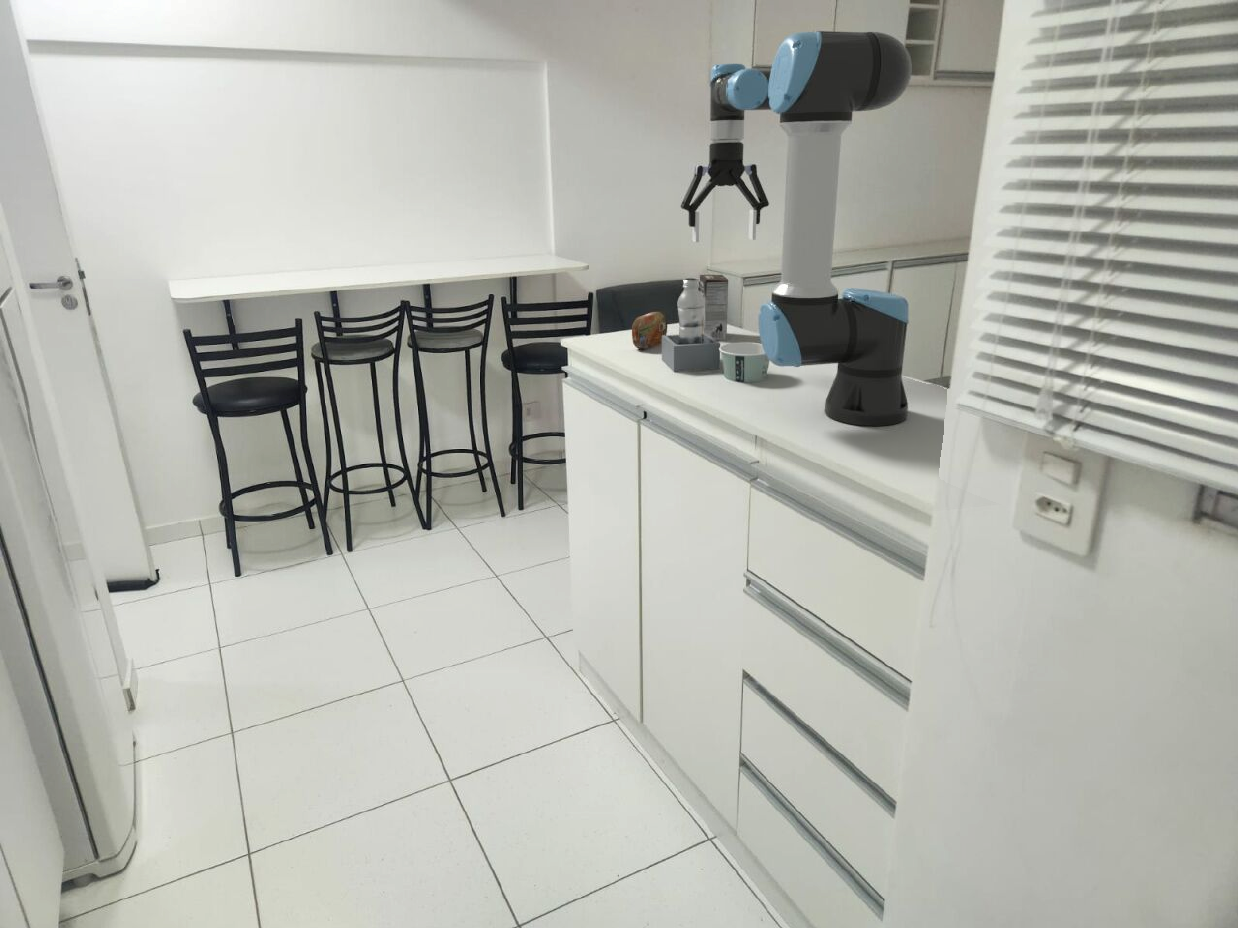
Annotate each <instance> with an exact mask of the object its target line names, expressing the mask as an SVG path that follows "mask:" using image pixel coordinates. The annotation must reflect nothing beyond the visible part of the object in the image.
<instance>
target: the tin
mask: <svg viewBox="0 0 1238 928" xmlns="http://www.w3.org/2000/svg"><path fill="white" fill-rule="evenodd" d="M667 333H668V321H667V318H666V314H665V313H664V312H662V311H652V312H648V313H646V314H644V315H641V316H637V317H636V318H635V319H634V321H633V323H632V326H631V337H632V338H631V339H632V343H633V345H634V347H635V348H636V349H640V350H649V349H652V348H653V347H655V346H658V345H662V335H668V334H667Z"/></svg>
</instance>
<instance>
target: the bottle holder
mask: <svg viewBox="0 0 1238 928" xmlns="http://www.w3.org/2000/svg"><path fill="white" fill-rule="evenodd" d="M678 340H679V333H678V334H666V335H662V343H661V360H662V362H663V363H665V365H666V366H667V367H668V368H669V369H670V370H671V371H672V372H674V373H676V372H677V373H678V372H688V371H689V372H691V371H692V372H694V371H707V370H720V368H721V366H720V365H721V352H720V350H719V348H720V347H721V342H719V340H715V339H714V338H712V337H711V336H709V335H708V334H707V333H702V344H687V345H678Z"/></svg>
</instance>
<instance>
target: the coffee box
mask: <svg viewBox="0 0 1238 928" xmlns="http://www.w3.org/2000/svg"><path fill="white" fill-rule="evenodd" d="M699 291H700V293H701V294H702V296H703V298H704V300H705V306H704V313H703V320H702V333H707V334H708V335H709V336H711V337H712V338H714V339H715V340H716V341H720V340H721V341H722V340H723V341H724V340H726V341H727V336H728V335H727V334H728V333H727V332H728V331H727V329H728V328H727V325H728V305H729V302H728V301H729V279H728V278H726V277H725V276H724V275H723V274H699Z"/></svg>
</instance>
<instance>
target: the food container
mask: <svg viewBox="0 0 1238 928" xmlns="http://www.w3.org/2000/svg"><path fill="white" fill-rule="evenodd" d="M719 350H720V356H721V360H722V367H723V373H724V375H723V376H724V378H725V379H726V380H729V381H732V382H738V383H739V382H740V383H753V382H760V381H764V380H766V378H767V373H768V369H769V365H770V362H771V361H770V360H769V359H768V357H767V355H766V354H765V351H764V349H763V346H762V343H758V342H747V341H746V342H743V341H742V342H732V343H725V344H722V345H720V348H719Z"/></svg>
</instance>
